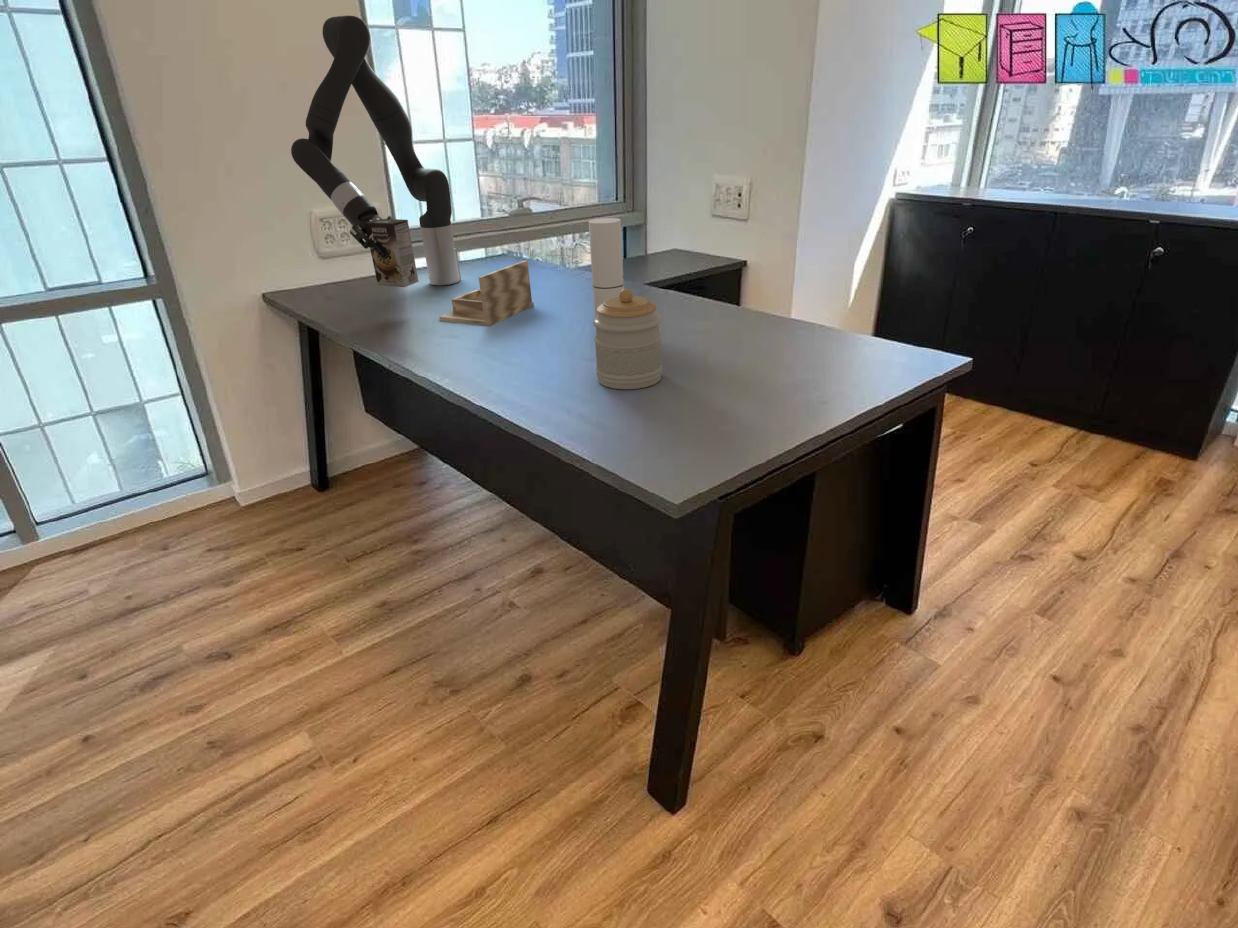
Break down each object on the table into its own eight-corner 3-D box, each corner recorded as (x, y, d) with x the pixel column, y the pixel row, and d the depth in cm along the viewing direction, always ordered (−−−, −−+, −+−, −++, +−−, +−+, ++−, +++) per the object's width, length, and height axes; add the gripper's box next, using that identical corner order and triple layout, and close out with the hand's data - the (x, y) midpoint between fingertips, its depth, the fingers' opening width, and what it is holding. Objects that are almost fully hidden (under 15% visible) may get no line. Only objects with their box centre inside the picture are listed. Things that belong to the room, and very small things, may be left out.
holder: (486, 301, 203) (480, 258, 197) (533, 305, 196) (529, 260, 190) (439, 320, 187) (432, 273, 182) (489, 325, 180) (483, 277, 175)
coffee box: (376, 286, 190) (363, 222, 183) (392, 280, 195) (379, 218, 188) (405, 287, 187) (392, 223, 179) (420, 281, 192) (408, 218, 184)
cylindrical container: (627, 325, 174) (622, 217, 163) (624, 334, 168) (618, 222, 157) (597, 326, 175) (590, 218, 164) (593, 335, 169) (586, 224, 157)
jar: (672, 384, 137) (670, 292, 129) (607, 395, 134) (601, 301, 126) (650, 364, 149) (647, 278, 141) (589, 373, 146) (583, 285, 138)
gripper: (337, 199, 178) (382, 249, 179) (379, 190, 189) (421, 238, 190) (327, 220, 183) (371, 269, 184) (368, 211, 194) (410, 257, 195)
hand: (397, 253), depth 187 cm, fingers closed on coffee box, 6 cm apart
